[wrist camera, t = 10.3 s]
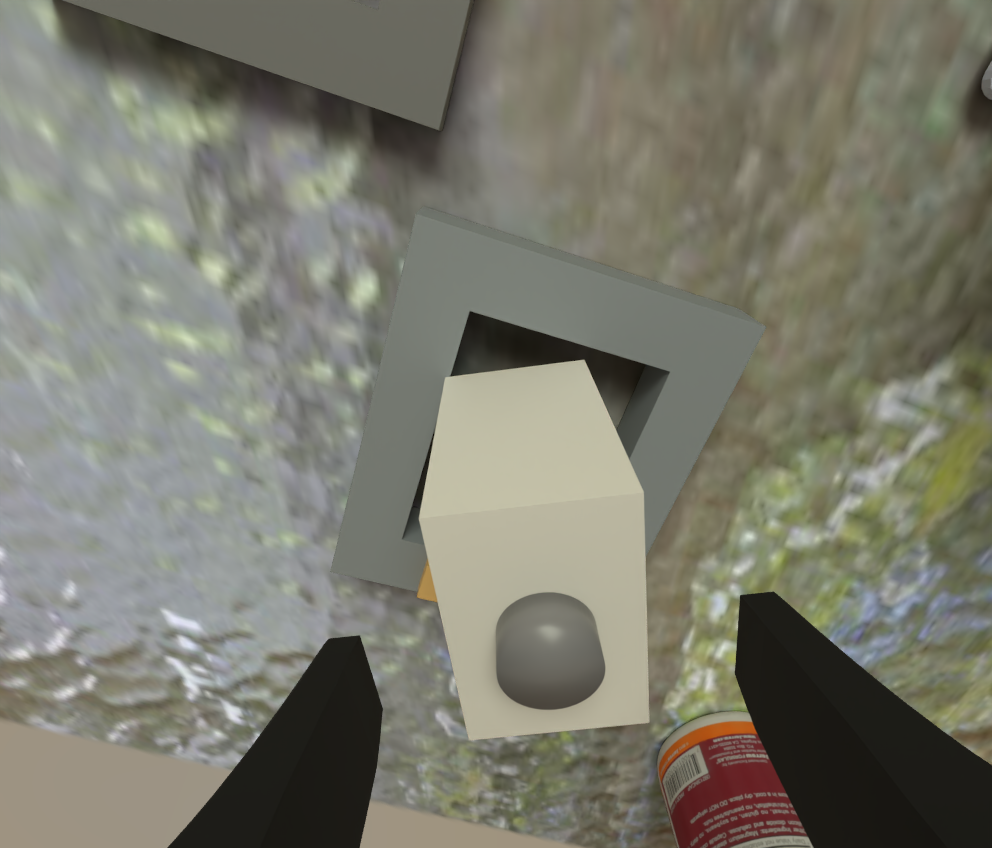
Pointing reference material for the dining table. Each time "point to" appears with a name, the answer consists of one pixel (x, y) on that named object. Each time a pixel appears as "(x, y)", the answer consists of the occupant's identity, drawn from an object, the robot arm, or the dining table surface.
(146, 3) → the square frame plate
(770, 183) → the dining table surface
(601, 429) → the plug
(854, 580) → the dining table surface
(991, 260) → the dining table surface
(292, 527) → the dining table surface
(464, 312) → the port
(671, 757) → the pill bottle
